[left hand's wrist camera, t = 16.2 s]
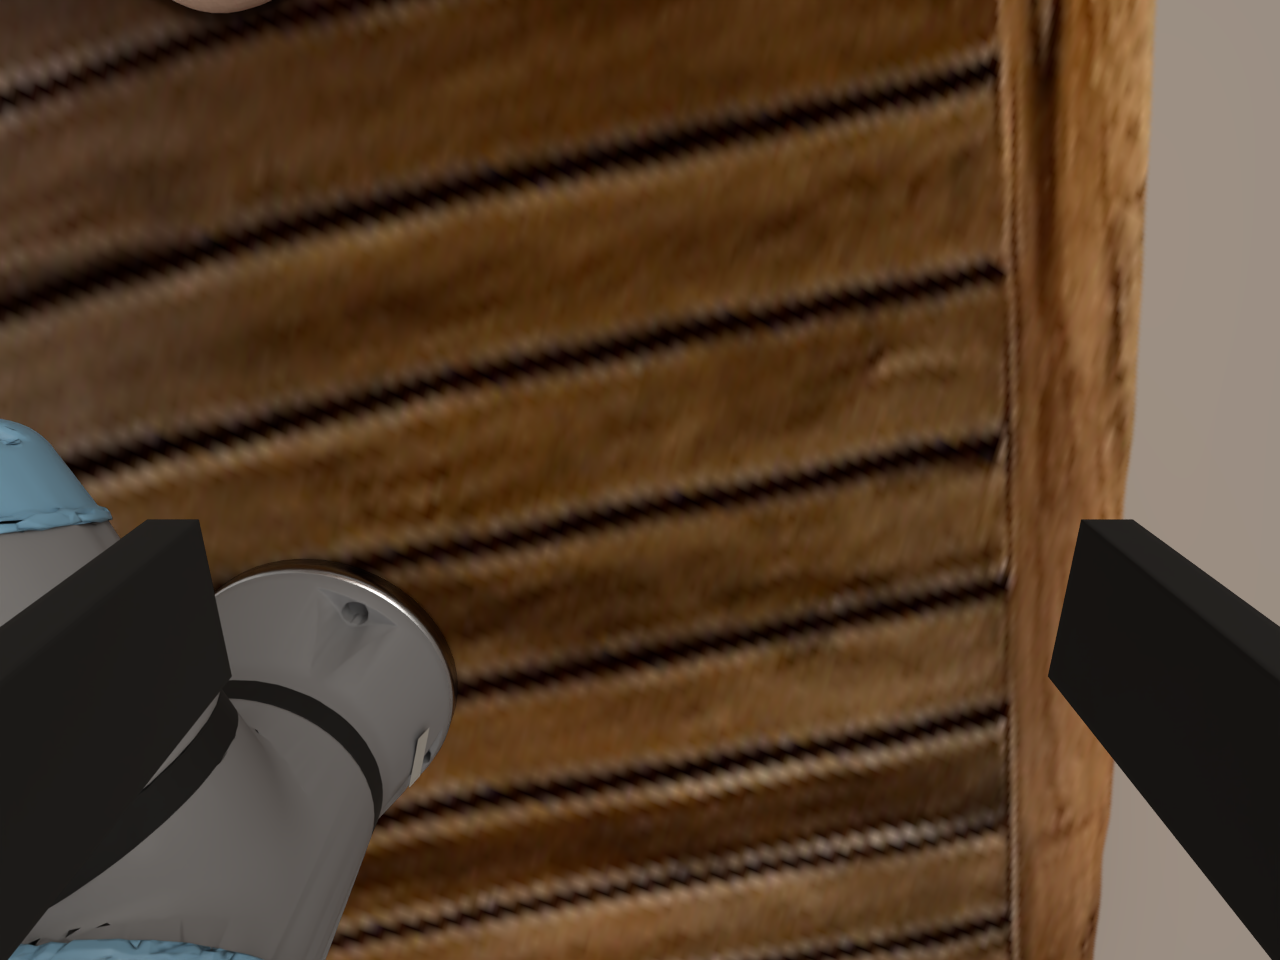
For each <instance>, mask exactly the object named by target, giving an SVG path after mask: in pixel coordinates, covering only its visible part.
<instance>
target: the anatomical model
mask: <svg viewBox="0 0 1280 960" xmlns="http://www.w3.org/2000/svg"><path fill="white" fill-rule="evenodd" d="M173 1H175V2H177V3H179V4H181V5H184V6H186V7H189V8H192V9H195V10H199V11H203V12H209V13H231V12H238V11H243V10H246V9H250V8H253V7H257V6H260V5H262V4H265V3H267V2H269V1H271V0H173Z"/></svg>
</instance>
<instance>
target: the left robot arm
mask: <svg viewBox="0 0 1280 960" xmlns="http://www.w3.org/2000/svg"><path fill="white" fill-rule="evenodd" d="M112 519H113V518H112V516H111V514H110V512H109V510H108V509H107V508H105V507H101V506H98V505H97V504H96V502H95V501H94V500H93V499H92V497H91V496H90V495H89V493H88V492H87V491H86V490H85V488H84V487H83V486H82V484H81V483H80V482H79V480H78V479H77V478H76V477H75V475H74V474H73V473H72V471H71V470H70V469H69V468H68V466H67V465H66V464H65V462H64V461H63V460H62V459H61V457H60V456H59V455H58V453H57V452H56V451H55V449H54V448H53V447H52V446H51V444H50V443H49V442H48V441H47V440H46V439H45V438H44V437H42V436H41V435H40V434H39V433H37V432H36V431H34V430H32V429H31V428H29V427H27V426H25V425H22V424H20V423H16V422H13V421H9V420H4V419H0V960H325V959H326V956H327V954H328V951H329V948H330V946H331V943H332V940H333V938H334V935H335V932H336V930H337V927H338V924H339V922H340V919H341V916H342V914H343V911H344V908H345V906H346V903H347V900H348V898H349V895H350V892H351V890H352V887H353V884H354V881H355V879H356V876H357V873H358V871H359V868H360V865H361V863H362V860H363V857H364V855H365V852H366V849H367V847H368V844H369V841H370V839H371V836H372V833H373V831H374V828H375V826H376V823H377V821H378V819H379V818H380V817H381V815H382V814H383V813H384V812H385V811H386V810H387V809H388V808H389V807H390V806H391V805H392V804H393V803H394V802H395V801H396V800H397V799H398V798H399V797H400V796H401V794H402V793H403V792H404V791H405V790H406V788H407V787H408V786H409V787H410V786H411V785H412V784H413V783H414V782H415V781H416V780H417V779H418V777H419V776H420V775H421V774H422V772H423V771H424V770H425V769H426V768H427V767H428V765H429V764H430V763H431V761H432V760H433V759H434V757H435V756H436V754H437V753H438V751H439V750H440V748H441V746H442V744H443V742H444V740H445V737H446V735H447V732H448V729H449V726H450V723H451V720H452V717H453V715H454V711H455V707H456V701H457V673H456V668H455V664H454V660H453V657H452V654H451V651H450V648H449V646H448V644H447V642H446V640H445V638H444V636H443V634H442V633H441V631H440V629H439V628H438V626H437V625H436V624H435V622H434V621H433V620H432V618H431V617H430V616H429V615H428V614H427V613H426V611H425V610H424V609H423V608H422V607H421V606H420V605H419V604H418V603H417V602H415V601H414V600H413V599H412V598H411V597H410V596H408V595H407V594H406V593H405V592H403V591H402V590H401V589H399V588H397V587H396V586H394V585H393V584H391V583H390V582H388V581H386V580H384V579H382V578H380V577H379V576H376V575H374V574H372V573H370V572H367V571H365V570H362V569H359V568H356V567H353V566H350V565H346V564H342V563H338V562H332V561H326V560H315V559H292V560H283V561H277V562H272V563H268V564H264V565H261V566H258V567H255V568H253V569H250V570H248V571H245V572H243V573H241V574H240V575H238V576H236V577H234V578H233V579H231V580H230V581H228V582H227V583H225V584H224V585H223V586H222V587H221V588H219V589H218V590H217V591H216V592H215V593H214V589H213V584H212V580H211V575H210V570H209V565H208V561H207V556H206V551H205V547H204V542H203V537H202V532H201V528H200V523H199V520H146V521H145V522H143V523H142V524H140V525H139V526H138V527H136V528H135V529H134V530H132V531H131V532H130V533H128V534H127V535H125V536H124V537H123V538H121V539H120V537H119V536H118V535H117V533H116V531H115V530H114V528H113V527H112V525H111V524H110V522H109V521H108V520H112ZM1048 677H1049V678H1050V680H1051V681H1052V682H1053V683H1054V685H1055V686H1056V687H1057V688H1058V690H1059V691H1060V692H1061V693H1062V695H1063V696H1064V697H1065V699H1066V700H1067V701H1068V702H1069V704H1070V705H1071V706H1072V707H1073V709H1074V710H1075V711H1076V712H1077V714H1078V715H1079V716H1080V717H1081V719H1082V720H1083V721H1084V723H1085V724H1086V725H1087V726H1088V728H1089V729H1090V730H1091V731H1092V733H1093V734H1094V735H1095V736H1096V738H1097V739H1098V740H1099V742H1100V743H1101V744H1102V745H1103V747H1104V748H1105V749H1106V750H1107V752H1108V753H1109V754H1110V755H1111V757H1112V758H1113V759H1114V761H1115V762H1116V763H1117V764H1118V766H1119V767H1120V768H1121V769H1122V771H1123V772H1124V773H1125V774H1126V776H1127V777H1128V778H1129V779H1130V781H1131V782H1132V783H1133V784H1134V786H1135V787H1136V788H1137V790H1138V791H1139V792H1140V793H1141V795H1142V796H1143V797H1144V798H1145V800H1146V801H1147V802H1148V804H1149V805H1150V806H1151V807H1152V809H1153V810H1154V811H1155V812H1156V814H1157V815H1158V816H1159V817H1160V819H1161V820H1162V821H1163V822H1164V824H1165V825H1166V826H1167V828H1168V829H1169V830H1170V831H1171V833H1172V834H1173V835H1174V836H1175V838H1176V839H1177V840H1178V841H1179V843H1180V844H1181V845H1182V846H1183V848H1184V849H1185V850H1186V852H1187V853H1188V854H1189V855H1190V857H1191V858H1192V859H1193V860H1194V862H1195V863H1196V864H1197V865H1198V867H1199V868H1200V869H1201V870H1202V872H1203V873H1204V874H1205V876H1206V877H1207V878H1208V879H1209V881H1210V882H1211V883H1212V884H1213V886H1214V887H1215V888H1216V890H1217V891H1218V892H1219V893H1220V895H1221V896H1222V897H1223V898H1224V900H1225V901H1226V902H1227V904H1228V905H1229V906H1230V907H1231V908H1232V910H1233V911H1234V912H1235V914H1236V915H1237V916H1238V917H1239V919H1240V920H1241V921H1242V922H1243V924H1244V925H1245V926H1246V928H1247V929H1248V930H1249V931H1250V932H1251V934H1252V935H1253V936H1254V938H1255V939H1256V940H1257V941H1258V943H1259V944H1260V945H1261V947H1262V948H1263V949H1264V950H1265V952H1266V953H1267V954H1268V955H1269V957H1270V958H1271V959H1272V960H1280V627H1279V626H1278V625H1277V624H1275V623H1274V622H1272V621H1271V620H1270V619H1268V618H1267V617H1266V616H1264V615H1263V614H1262V613H1260V612H1259V611H1257V610H1256V609H1255V608H1253V607H1252V606H1251V605H1249V604H1248V603H1246V602H1245V601H1244V600H1242V599H1241V598H1239V597H1238V596H1237V595H1235V594H1234V593H1233V592H1231V591H1230V590H1229V589H1227V588H1226V587H1225V586H1223V585H1222V584H1220V583H1219V582H1218V581H1216V580H1215V579H1214V578H1212V577H1211V576H1209V575H1208V574H1207V573H1205V572H1204V571H1203V570H1201V569H1200V568H1198V567H1197V566H1196V565H1194V564H1193V563H1192V562H1190V561H1189V560H1187V559H1186V558H1185V557H1183V556H1182V555H1181V554H1179V553H1178V552H1177V551H1175V550H1174V549H1172V548H1171V547H1170V546H1168V545H1167V544H1165V543H1164V542H1163V541H1161V540H1160V539H1159V538H1157V537H1156V536H1155V535H1153V534H1152V533H1150V532H1149V531H1148V530H1146V529H1145V528H1144V527H1142V526H1141V525H1139V524H1138V523H1137V522H1135V521H1134V520H1081V523H1080V528H1079V532H1078V537H1077V542H1076V547H1075V551H1074V556H1073V561H1072V565H1071V570H1070V575H1069V580H1068V584H1067V589H1066V594H1065V598H1064V603H1063V608H1062V613H1061V617H1060V622H1059V627H1058V631H1057V636H1056V641H1055V646H1054V650H1053V655H1052V660H1051V664H1050V669H1049V674H1048Z"/></svg>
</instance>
